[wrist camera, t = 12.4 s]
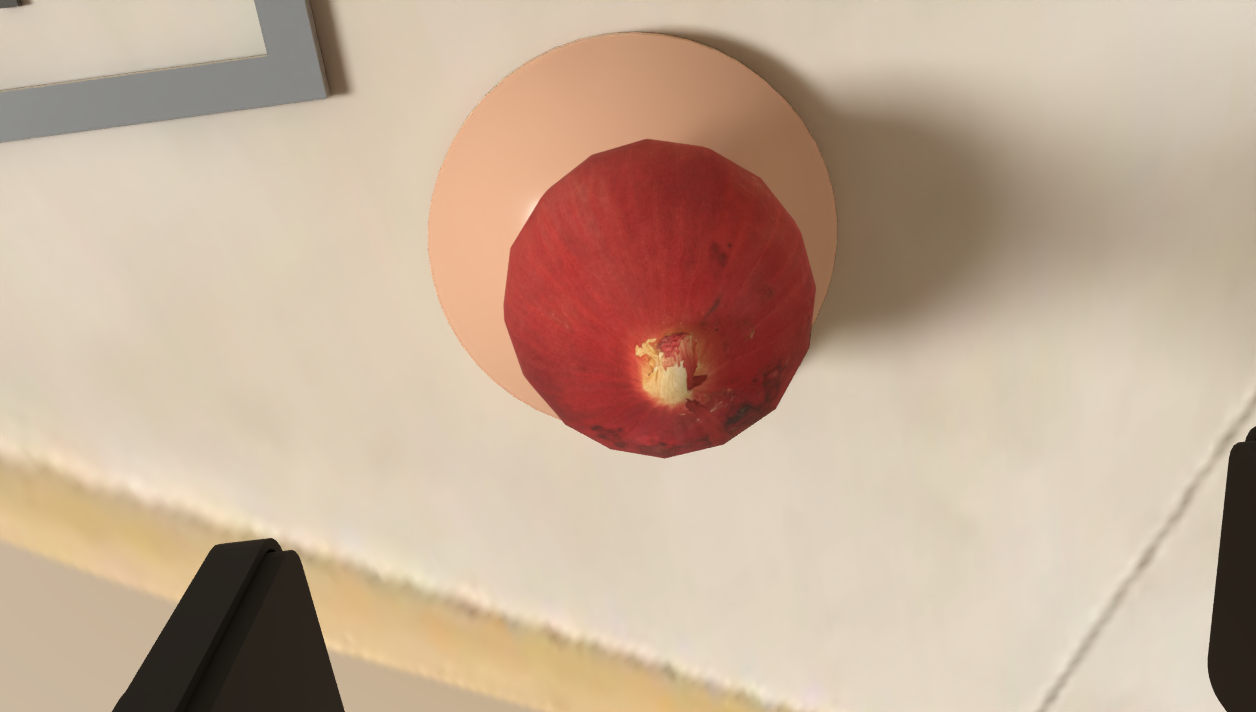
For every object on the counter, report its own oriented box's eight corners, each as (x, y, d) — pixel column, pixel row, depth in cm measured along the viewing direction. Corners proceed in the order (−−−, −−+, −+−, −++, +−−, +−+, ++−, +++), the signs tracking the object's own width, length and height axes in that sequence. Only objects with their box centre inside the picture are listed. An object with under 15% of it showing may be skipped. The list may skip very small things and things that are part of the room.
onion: (829, 265, 25) (937, 419, 17) (625, 412, 26) (644, 615, 18) (673, 54, 23) (720, 125, 15) (460, 222, 24) (409, 364, 16)
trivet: (817, 5, 23) (825, 8, 23) (839, 390, 27) (847, 404, 26) (395, 61, 23) (389, 66, 23) (471, 439, 27) (468, 454, 26)
